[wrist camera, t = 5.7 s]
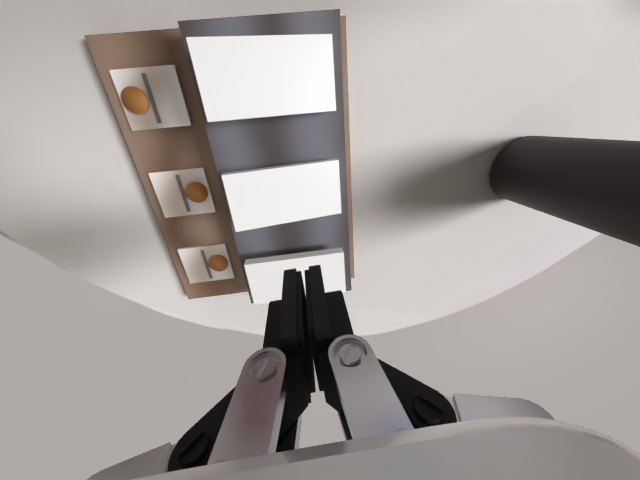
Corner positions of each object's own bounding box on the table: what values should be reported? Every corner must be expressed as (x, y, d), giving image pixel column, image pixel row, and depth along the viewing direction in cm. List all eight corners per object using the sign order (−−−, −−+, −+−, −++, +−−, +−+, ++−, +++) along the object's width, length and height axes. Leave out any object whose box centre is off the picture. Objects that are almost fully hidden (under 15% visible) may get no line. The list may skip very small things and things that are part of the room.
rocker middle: (334, 158, 21) (338, 159, 20) (337, 209, 23) (341, 213, 22) (222, 173, 19) (221, 175, 18) (236, 227, 21) (235, 232, 20)
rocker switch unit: (343, 20, 21) (353, -2, 17) (352, 273, 31) (360, 292, 28) (93, 39, 20) (48, 20, 16) (191, 293, 30) (177, 316, 27)
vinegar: (540, 191, 29) (942, 303, 11) (484, 203, 29) (797, 334, 11) (554, 129, 26) (1131, 143, 8) (491, 142, 26) (933, 185, 8)
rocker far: (341, 247, 23) (343, 252, 23) (344, 286, 25) (345, 292, 24) (245, 259, 23) (244, 265, 22) (255, 298, 25) (254, 304, 24)
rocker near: (327, 38, 17) (332, 33, 16) (331, 111, 19) (336, 110, 18) (189, 42, 15) (185, 37, 14) (209, 122, 17) (207, 121, 16)
